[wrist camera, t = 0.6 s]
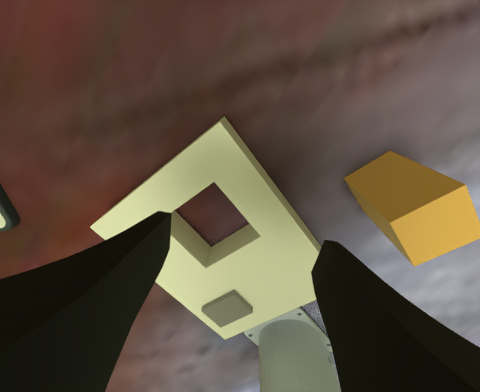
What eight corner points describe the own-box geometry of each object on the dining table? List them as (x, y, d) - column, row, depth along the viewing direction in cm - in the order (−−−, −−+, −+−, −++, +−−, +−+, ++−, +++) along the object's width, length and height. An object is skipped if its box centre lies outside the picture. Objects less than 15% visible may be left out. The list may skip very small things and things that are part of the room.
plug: (408, 187, 19) (484, 236, 13) (363, 211, 20) (414, 266, 14) (390, 150, 18) (465, 184, 12) (343, 178, 19) (389, 222, 13)
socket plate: (333, 263, 23) (347, 292, 20) (227, 314, 27) (224, 345, 24) (224, 116, 17) (218, 123, 14) (110, 209, 21) (85, 231, 18)
